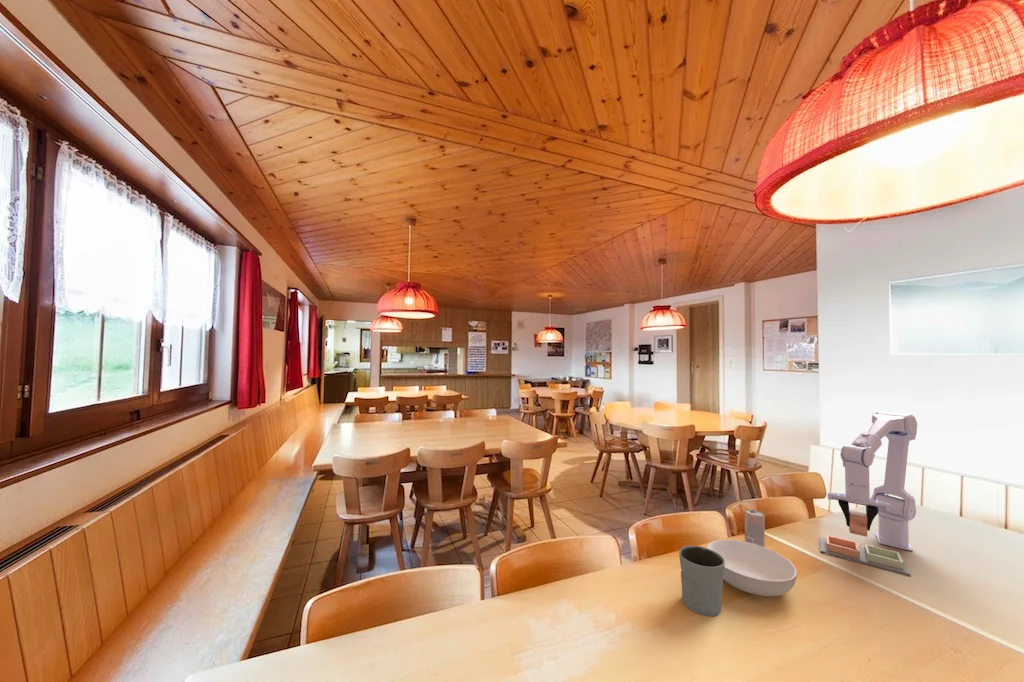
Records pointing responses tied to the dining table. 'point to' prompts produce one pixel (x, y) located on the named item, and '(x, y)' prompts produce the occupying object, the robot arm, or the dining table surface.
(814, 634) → the dining table surface
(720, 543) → the serving bowl
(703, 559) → the grey cup
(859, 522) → the terracotta block
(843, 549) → the sorting board
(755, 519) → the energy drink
